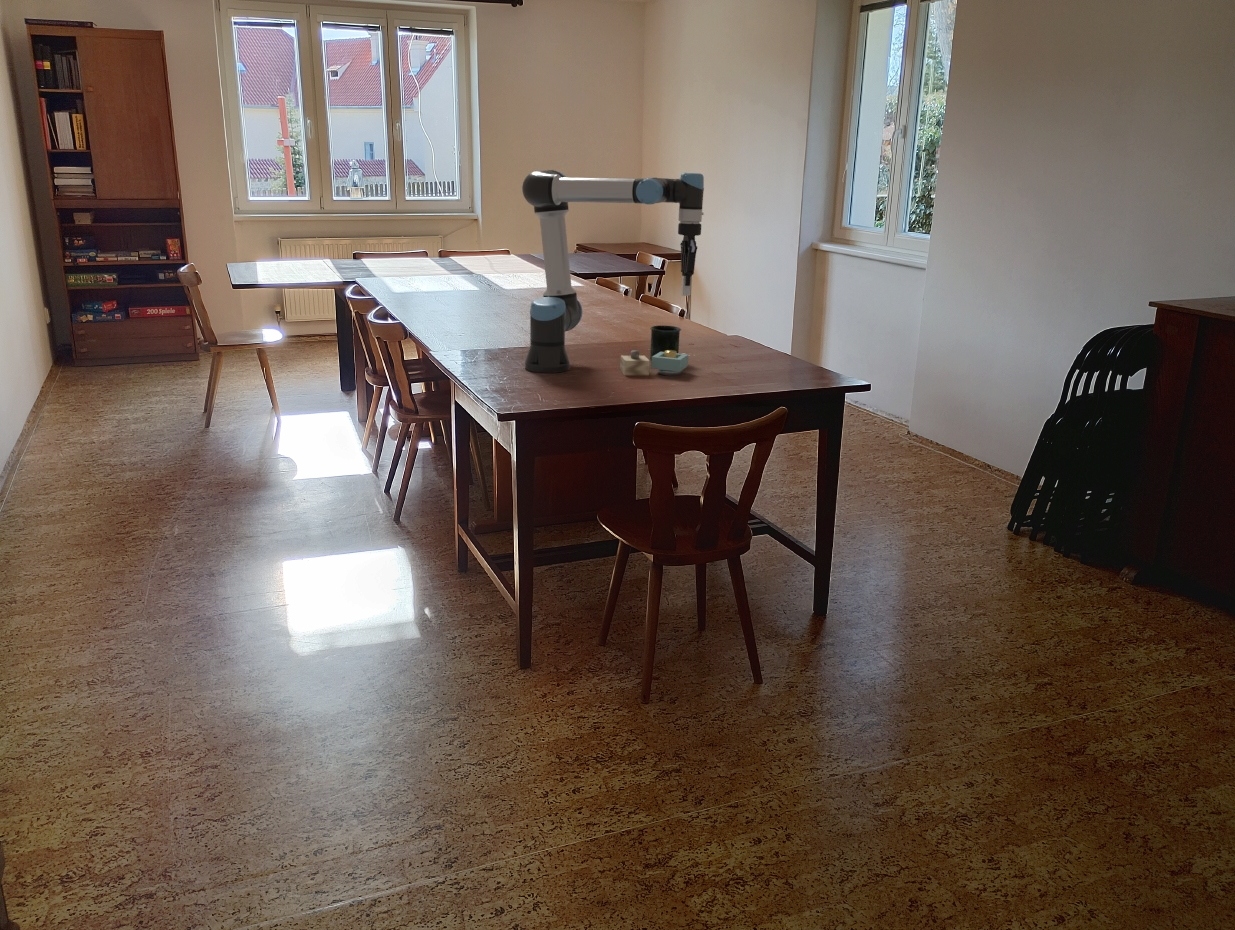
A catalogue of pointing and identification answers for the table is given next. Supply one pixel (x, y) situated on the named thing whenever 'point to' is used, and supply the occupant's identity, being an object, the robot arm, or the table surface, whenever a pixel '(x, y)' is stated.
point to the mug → (664, 339)
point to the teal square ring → (669, 362)
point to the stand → (634, 364)
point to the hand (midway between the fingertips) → (686, 295)
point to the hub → (666, 372)
